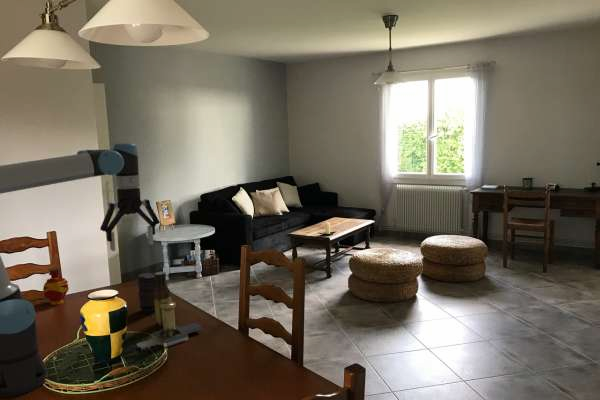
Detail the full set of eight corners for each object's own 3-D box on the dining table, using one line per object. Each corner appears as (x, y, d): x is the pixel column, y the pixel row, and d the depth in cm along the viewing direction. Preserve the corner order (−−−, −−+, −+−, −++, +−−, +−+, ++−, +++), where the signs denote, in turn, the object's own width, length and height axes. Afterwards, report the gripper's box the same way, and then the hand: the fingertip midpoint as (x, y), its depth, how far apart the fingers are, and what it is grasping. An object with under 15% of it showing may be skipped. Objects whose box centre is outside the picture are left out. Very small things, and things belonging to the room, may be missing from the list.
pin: (166, 344, 159) (164, 307, 158) (159, 339, 163) (157, 303, 161) (180, 339, 163) (178, 304, 161) (173, 335, 166) (171, 300, 165)
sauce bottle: (175, 320, 180) (172, 270, 178) (169, 326, 174) (166, 275, 171) (159, 320, 181) (156, 270, 178) (152, 326, 175) (149, 275, 172)
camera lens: (149, 315, 186) (147, 279, 184) (135, 312, 190) (133, 276, 188) (164, 309, 193) (162, 273, 191) (151, 305, 197) (148, 271, 195)
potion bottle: (38, 307, 198) (35, 272, 196) (52, 298, 208) (49, 266, 206) (62, 306, 198) (59, 272, 196) (75, 298, 208) (72, 265, 206)
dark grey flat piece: (144, 353, 152) (144, 346, 152) (134, 344, 159) (134, 338, 159) (204, 334, 167) (204, 328, 166) (193, 327, 173) (192, 320, 173)
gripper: (94, 191, 152) (99, 255, 155) (166, 185, 168) (170, 243, 171) (87, 189, 158) (92, 251, 160) (158, 184, 174) (161, 240, 176)
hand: (132, 247), depth 166 cm, fingers open, 13 cm apart
